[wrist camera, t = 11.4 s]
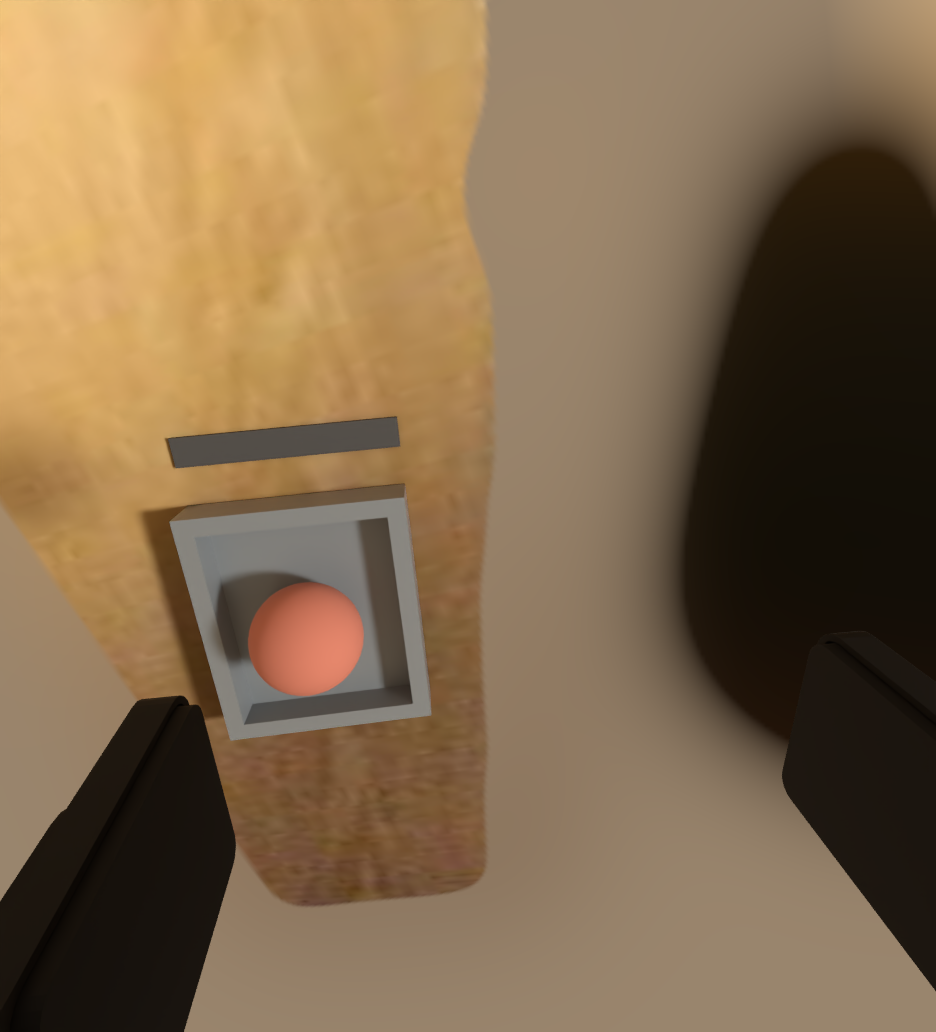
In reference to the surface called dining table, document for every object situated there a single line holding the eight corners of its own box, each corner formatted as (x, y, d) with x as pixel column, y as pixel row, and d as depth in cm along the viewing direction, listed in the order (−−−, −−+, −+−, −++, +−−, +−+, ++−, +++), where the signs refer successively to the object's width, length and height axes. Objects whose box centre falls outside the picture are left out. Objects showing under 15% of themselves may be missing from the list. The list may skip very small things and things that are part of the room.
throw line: (169, 438, 30) (167, 439, 30) (396, 416, 31) (396, 417, 30) (177, 467, 31) (175, 468, 30) (400, 445, 31) (400, 446, 31)
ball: (254, 569, 32) (220, 625, 27) (360, 558, 33) (348, 611, 27) (275, 658, 34) (247, 727, 29) (374, 647, 35) (365, 713, 29)
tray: (187, 505, 31) (169, 521, 29) (405, 483, 32) (404, 497, 30) (242, 712, 36) (230, 740, 34) (430, 689, 37) (431, 715, 35)
